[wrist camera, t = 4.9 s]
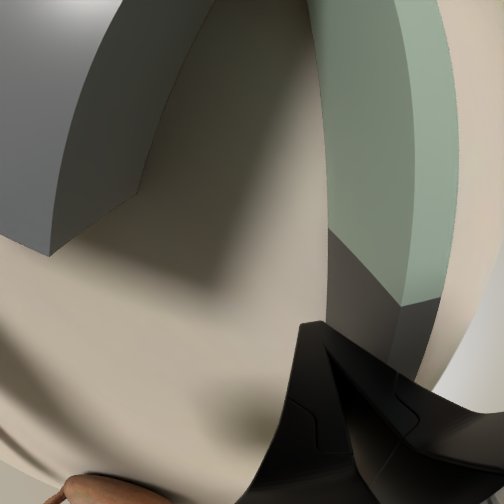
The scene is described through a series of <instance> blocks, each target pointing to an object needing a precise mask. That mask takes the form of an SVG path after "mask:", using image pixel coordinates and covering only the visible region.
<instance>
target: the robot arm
mask: <svg viewBox="0 0 504 504" xmlns="http://www.w3.org/2000/svg"><path fill="white" fill-rule="evenodd" d="M235 504H504V412H499V413H489V414H484V413H477V412H473V411H470V410H468V409H466V408H463V407H461V406H459V405H457V404H455V403H453V402H451V401H449V400H447V399H445V398H443V397H441V396H439V395H437V394H435V393H433V392H431V391H429V390H427V389H425V388H423V387H422V386H420V385H418V384H417V383H415V382H413V381H412V380H410V379H409V378H407V377H405V376H404V375H402V374H401V373H398V372H397V371H396V370H395V369H393V368H392V367H390V366H389V365H387V364H386V363H384V362H383V361H381V360H380V359H378V358H377V357H375V356H374V355H372V354H371V353H369V352H368V351H366V350H365V349H363V348H362V347H360V346H359V345H357V344H356V343H354V342H353V341H351V340H350V339H348V338H347V337H345V336H344V335H342V334H341V333H339V332H338V331H336V330H335V329H333V328H332V327H331V326H329V325H328V324H326V323H325V322H323V321H314V322H308V323H301V324H300V326H299V331H298V337H297V342H296V348H295V353H294V358H293V363H292V368H291V373H290V378H289V383H288V388H287V392H286V397H285V401H284V405H283V410H282V413H281V417H280V420H279V424H278V426H277V429H276V431H275V434H274V437H273V439H272V441H271V443H270V446H269V448H268V450H267V452H266V454H265V456H264V459H263V461H262V463H261V465H260V467H259V469H258V471H257V473H256V475H255V477H254V479H253V480H252V482H251V484H250V485H249V487H248V488H247V490H246V491H245V493H244V494H243V495H242V496H241V497H240V498H239V499H238V500H237V502H236V503H235Z"/></svg>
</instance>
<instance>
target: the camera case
mask: <svg viewBox="0 0 504 504" xmlns="http://www.w3.org/2000/svg"><path fill="white" fill-rule="evenodd" d="M214 2H215V0H0V234H1V235H3V236H5V237H7V238H9V239H11V240H13V241H15V242H17V243H19V244H22V245H24V246H26V247H28V248H30V249H32V250H34V251H37V252H39V253H41V254H43V255H46V256H48V257H50V256H51V255H52V254H53V253H55V252H56V251H57V250H58V249H60V248H61V247H62V246H64V245H65V244H66V243H67V242H69V241H70V240H71V239H73V238H74V237H75V236H77V235H78V234H79V233H81V232H82V231H83V230H85V229H86V228H87V227H89V226H90V225H91V224H93V223H94V222H96V221H97V220H98V219H100V218H101V217H103V216H104V215H105V214H107V213H108V212H110V211H111V210H113V209H114V208H116V207H117V206H119V205H120V204H122V203H123V202H125V201H126V200H128V199H129V198H131V197H132V196H134V195H135V194H137V190H138V187H139V183H140V180H141V176H142V173H143V169H144V166H145V163H146V159H147V156H148V153H149V150H150V147H151V144H152V141H153V138H154V135H155V132H156V129H157V127H158V124H159V121H160V118H161V116H162V113H163V110H164V108H165V105H166V102H167V100H168V97H169V95H170V92H171V90H172V88H173V85H174V83H175V80H176V78H177V76H178V73H179V71H180V69H181V67H182V64H183V62H184V60H185V58H186V56H187V54H188V51H189V49H190V47H191V45H192V43H193V41H194V39H195V37H196V35H197V33H198V31H199V29H200V27H201V25H202V23H203V22H204V20H205V18H206V16H207V14H208V12H209V11H210V9H211V7H212V5H213V3H214Z"/></svg>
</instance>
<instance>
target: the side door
mask: <svg viewBox="0 0 504 504" xmlns="http://www.w3.org/2000/svg"><path fill="white" fill-rule="evenodd" d="M307 4H308V10H309V15H310V21H311V27H312V33H313V39H314V46H315V53H316V60H317V68H318V76H319V84H320V94H321V103H322V114H323V126H324V139H325V154H326V173H327V200H328V282H327V309H326V324H328V325H329V326H331V327H332V328H333V329H335V330H336V331H338V332H339V333H341V334H342V335H344V336H345V337H347V338H348V339H350V340H351V341H353V342H354V343H356V344H357V345H359V346H360V347H362V348H363V349H365V350H366V351H368V352H369V353H371V354H372V355H374V356H375V357H377V358H378V359H380V360H381V361H383V362H384V363H386V364H387V365H389V366H390V367H392V368H393V369H395V370H396V371H397V372H398V373H401V374H402V375H404V376H405V377H407V378H409V379H410V380H412V381H413V382H414V380H415V377H416V375H417V372H418V370H419V367H420V364H421V362H422V359H423V356H424V353H425V350H426V347H427V344H428V341H429V338H430V335H431V332H432V329H433V325H434V322H435V318H436V315H437V311H438V307H439V303H440V300H441V295H442V291H443V287H444V283H445V278H446V273H447V268H448V263H449V257H450V252H451V245H452V239H453V232H454V224H455V215H456V205H457V192H458V173H459V133H458V114H457V101H456V92H455V83H454V76H453V69H452V63H451V57H450V52H449V47H448V42H447V38H446V33H445V29H444V25H443V21H442V18H441V14H440V10H439V7H438V4H437V1H436V0H307Z"/></svg>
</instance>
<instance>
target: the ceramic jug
mask: <svg viewBox="0 0 504 504" xmlns="http://www.w3.org/2000/svg"><path fill="white" fill-rule="evenodd" d="M65 499H68V501H69V502H70V503H71V504H174V503H173V502H171V501H170V500H168V499H166V498H165V497H163V496H161V495H159V494H157V493H155V492H153V491H150V490H148V489H145V488H143V487H140V486H137V485H134V484H131V483H128V482H125V481H121V480H117V479H113V478H109V477H104V476H97V475H74V476H71V477H69V478H68V479H67V480H66V482H65V484H64V486H63V487H62V488H61V490H60V492H58V493H57V494H56V495H54V496H52V497H51V498H49V499H48V500H47V501H45V503H44V504H60V503H61V502H63V501H64V500H65Z"/></svg>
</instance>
